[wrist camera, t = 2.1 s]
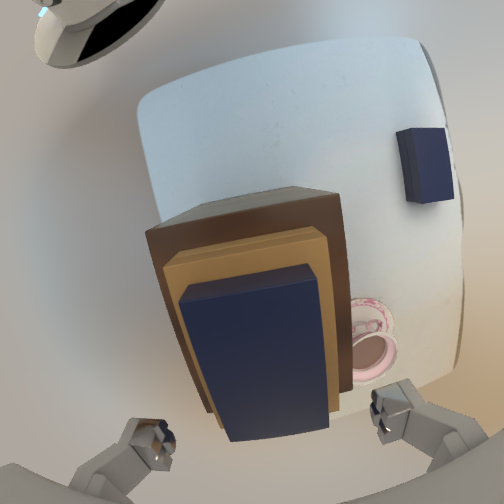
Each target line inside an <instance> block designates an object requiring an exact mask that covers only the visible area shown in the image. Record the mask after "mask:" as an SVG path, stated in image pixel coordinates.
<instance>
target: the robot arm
mask: <svg viewBox="0 0 504 504" xmlns="http://www.w3.org/2000/svg"><path fill="white" fill-rule="evenodd" d="M33 1H34V2H35V3H37V4H39V5H41V6H43V7H44V8H43V9H42V11H41V12H40V13H39V16H41V17H42V16H43V15H44V13H45V12H46V10H47V9H49V11H50V12H51V13H52V14H53V15H54V16H55V17H56V18H57V20H58V21H59V23H60V25H61V27H62V28H63V29H64V30H65V31H68V32H78V31H82V30H85V29H87V28H89V27H92V26H93V25H95V24H97V23H99V22H100V21H102V20H103V19H105V18H106V17H107V16H109V15H110V14H111V13H112V12H114V11H115V10H116V9H118V8H119V7H122V6H124V5H126V4H128V3H130V2H132V1H134V0H33ZM371 398H372V400H373V402H372V403H371V404H370V414H371V419H372V422H373V424H374V426H376V427H378V432H377V434H378V436H379V438H380V441H381V443H382V445H384V444H387V443H390V442H393V441H396V440H399V439H402V438H403V440H404V441H406V442H407V443H409V444H411V445H412V446H414V447H416V448H417V449H419V450H420V451H422V452H424V453H425V454H427V455H429V456H431V457H432V458H433V460H432V462H431V464H430V466H429V467H428V469H427V473H426V474H424V475H422V476H420V477H417V478H415V479H412V480H410V481H408V482H405V483H403V484H400V485H397V486H395V487H392V488H389V489H386V490H384V491H381V492H377V493H374V494H371V495H368V496H365V497H361V498H358V499H354V500H350V501H346V502H342V503H338V504H504V428H503V429H502V430H501V431H499V432H498V433H496V434H495V435H493V436H492V437H490V438H488V436H487V435H486V433H485V432H484V431H483V429H482V428H481V426H480V425H479V424H478V422H477V421H476V420H475V419H474V418H471V417H468V416H466V415H463V414H460V413H457V412H454V411H451V410H449V409H446V408H443V407H441V406H438V405H435V404H433V403H430V402H428V403H425V401H424V400H423V399H422V397H421V396H420V394H419V393H418V391H417V390H416V388H415V387H414V385H413V384H412V382H411V381H410V379H408V378H407V379H404V380H401V381H399V382H396V383H393V384H390V385H387V386H384V387H381V388H378V389H374V390H372V393H371ZM167 427H168V424H167V423H166V421H165V420H162V419H145V418H131V419H129V421H128V423H127V425H126V427H125V429H124V431H123V433H122V436H121V438H120V440H119V442H118V444H113V445H112V446H110V447H109V448H107V449H106V450H104V451H103V452H101V453H100V454H98V455H97V456H95V457H94V458H92V459H91V460H89V461H88V462H86V463H84V464H83V465H81V466H80V467H78V469H77V471H76V472H75V475H74V477H73V478H72V480H71V482H70V484H69V486H68V487H66V486H64V485H61V484H59V483H56V482H54V481H52V480H49V479H47V478H45V477H43V476H40V475H38V474H36V473H34V472H32V471H30V470H28V469H26V468H24V467H22V466H20V465H18V464H15V463H11V464H8V465H5V466H3V467H0V504H134V503H133V502H132V501H131V500H130V499H129V498H128V497H126V495H127V494H128V493H129V492H130V491H131V490H133V489H134V488H135V487H136V486H137V485H138V484H139V483H140V482H141V481H142V480H143V479H144V478H145V477H146V476H147V475H148V474H149V473H150V472H151V470H156V471H170V467H171V464H172V460H173V459H172V458H171V456H170V455H171V454H173V453H174V452H175V448H176V439H175V436H174V434H173V432H171V431H170V430H168V429H167Z"/></svg>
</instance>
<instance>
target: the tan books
mask: <svg viewBox="0 0 504 504" xmlns="http://www.w3.org/2000/svg"><path fill="white" fill-rule="evenodd" d="M305 263H308V264H309V266H310V267H311V269H312V271H313V272H314V274H315V275H316V277H317V279H318V288H319V296H320V305H321V314H322V324H323V335H324V346H325V358H326V372H327V388H328V407H329V413H331V412H335V411H339V376H338V352H337V335H336V321H335V308H334V297H333V287H332V277H331V268H330V259H329V251H328V243H327V237H326V236H325V235H324V234H322V233H321V232H320V231H318V230H317V229H316V228H315V227H313V226H310V227H304V228H299V229H293V230H288V231H282V232H277V233H272V234H266V235H261V236H256V237H251V238H245V239H240V240H235V241H230V242H225V243H220V244H214V245H209V246H204V247H199V248H194V249H189V250H184V251H179V252H178V253H177V254H176V255H175V256H174V257H173V258H172V259H171V260H170V261H169V262H168V263H167V264H166V265H165V266H164V267H163V270H164V274H165V277H166V281H167V284H168V288H169V291H170V294H171V297H172V301H173V304H174V307H175V310H176V313H177V316H178V319H179V322H180V325H181V328H182V331H183V334H184V337H185V340H186V343H187V346H188V348H189V351H190V354H191V357H192V359H193V362H194V365H195V367H196V370H197V373H198V375H199V378H200V380H201V383H202V385H203V388H204V390H205V393H206V395H207V398H208V400H209V403H210V405H211V407H212V410H213V412H214V414H215V416H216V419H217V421H218V423H219V425H220V428H221V429H223V428H224V426H223V424H222V422H221V419H220V417H219V415H218V412H217V410H216V408H215V405H214V403H213V400H212V398H211V395H210V393H209V390H208V388H207V385H206V382H205V380H204V377H203V375H202V372H201V369H200V367H199V364H198V361H197V358H196V356H195V353H194V350H193V347H192V344H191V341H190V338H189V336H188V333H187V330H186V327H185V324H184V320H183V317H182V314H181V311H180V308H179V305H178V301H179V300H180V298H181V296H182V295H183V293H184V291H185V290H186V288H187V286H188V285H190V284H195V283H201V282H207V281H213V280H218V279H224V278H230V277H235V276H241V275H246V274H252V273H257V272H263V271H268V270H274V269H279V268H284V267H289V266H295V265H300V264H305Z"/></svg>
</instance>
